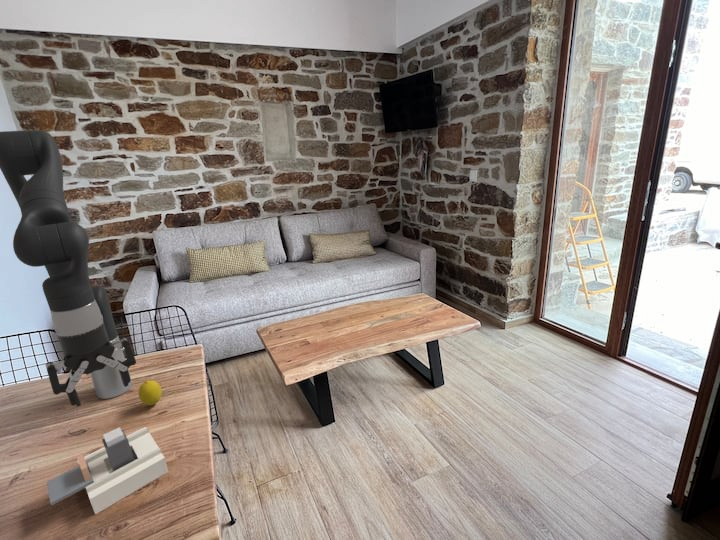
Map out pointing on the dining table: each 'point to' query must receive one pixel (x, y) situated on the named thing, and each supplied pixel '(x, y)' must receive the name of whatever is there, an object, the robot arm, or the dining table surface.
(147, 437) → the socket
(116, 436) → the plug
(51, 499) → the panel
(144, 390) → the lemon
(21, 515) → the dining table surface
